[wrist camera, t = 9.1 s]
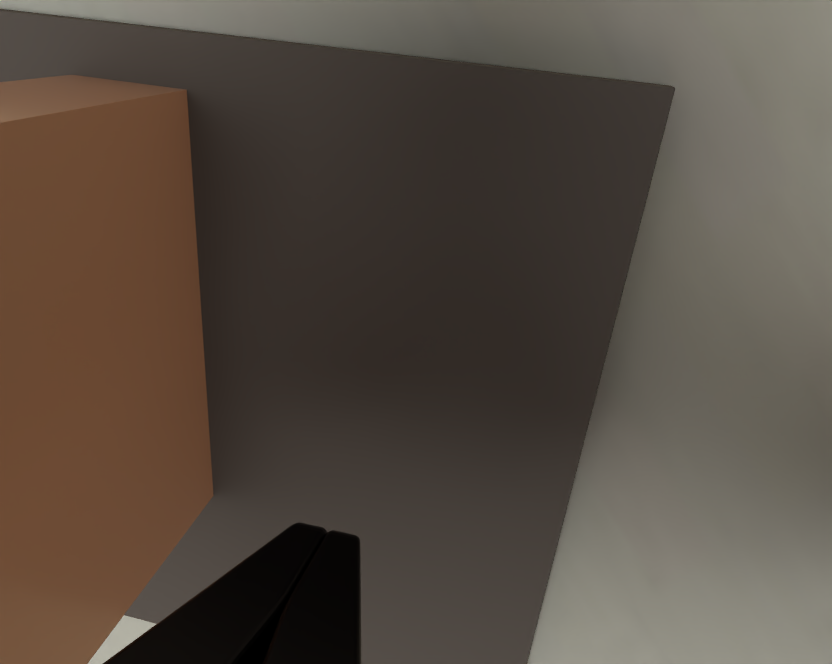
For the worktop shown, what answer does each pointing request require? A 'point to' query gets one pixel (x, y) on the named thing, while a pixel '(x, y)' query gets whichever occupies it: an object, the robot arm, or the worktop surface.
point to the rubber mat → (390, 308)
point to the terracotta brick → (94, 357)
